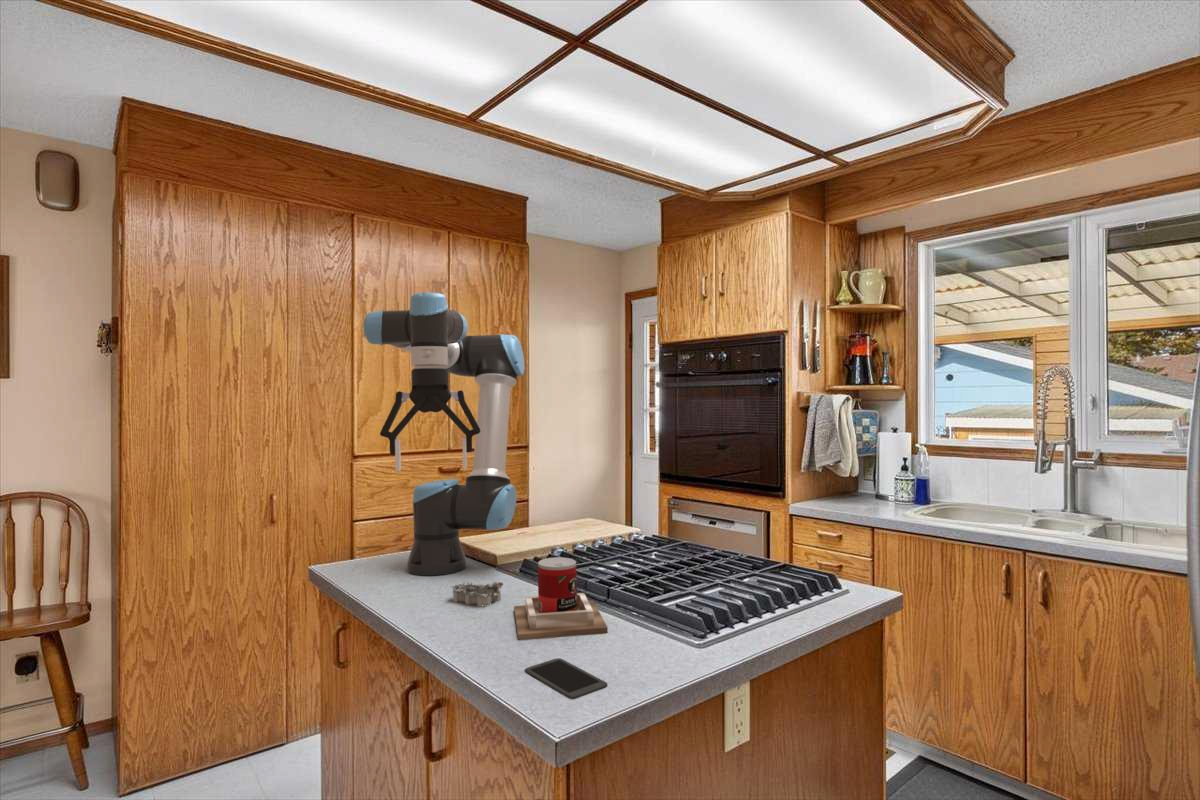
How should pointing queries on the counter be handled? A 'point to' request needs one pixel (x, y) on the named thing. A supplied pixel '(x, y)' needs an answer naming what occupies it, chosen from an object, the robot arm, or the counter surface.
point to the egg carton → (477, 593)
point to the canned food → (557, 585)
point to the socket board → (558, 620)
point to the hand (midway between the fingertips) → (432, 469)
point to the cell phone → (566, 678)
